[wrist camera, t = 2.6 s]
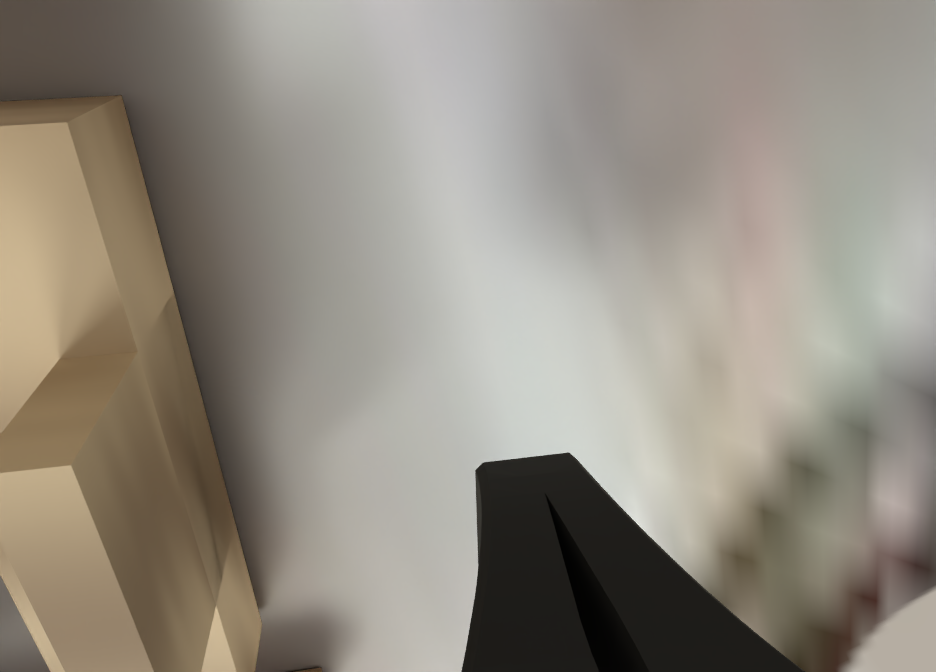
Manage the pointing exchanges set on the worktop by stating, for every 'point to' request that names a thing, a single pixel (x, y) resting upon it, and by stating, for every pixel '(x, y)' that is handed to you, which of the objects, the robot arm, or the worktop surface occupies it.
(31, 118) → the beige wooden block
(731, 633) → the robot arm
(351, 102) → the worktop surface
